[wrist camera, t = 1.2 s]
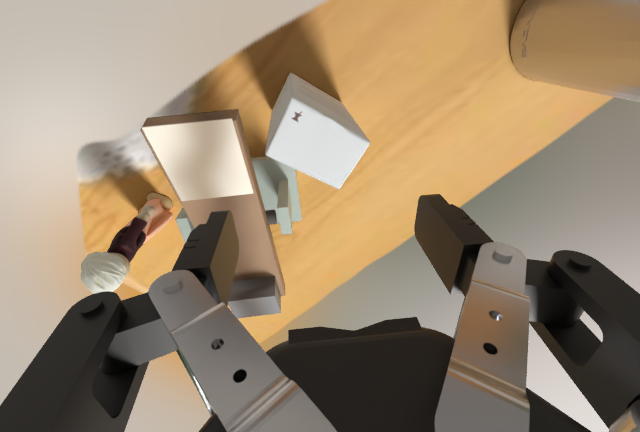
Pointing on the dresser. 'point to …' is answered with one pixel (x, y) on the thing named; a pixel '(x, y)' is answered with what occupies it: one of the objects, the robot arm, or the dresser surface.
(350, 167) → the skincare box
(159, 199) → the grandmother figurine
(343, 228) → the dresser surface
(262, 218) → the beam
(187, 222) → the beam stand
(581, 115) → the dresser surface
